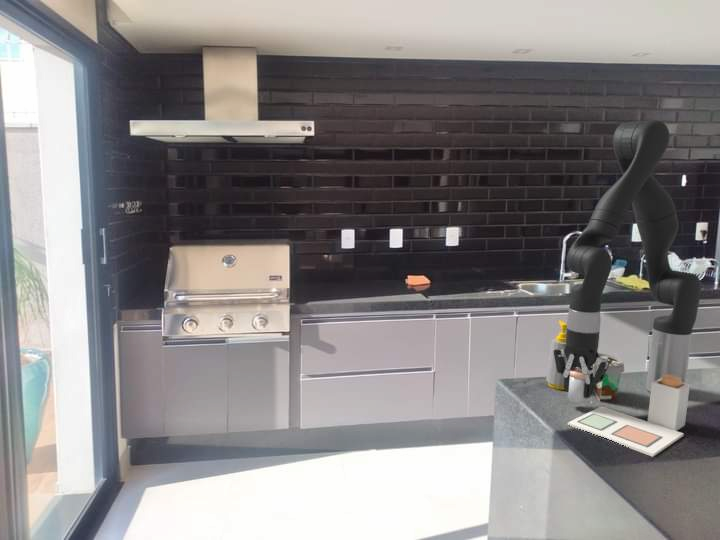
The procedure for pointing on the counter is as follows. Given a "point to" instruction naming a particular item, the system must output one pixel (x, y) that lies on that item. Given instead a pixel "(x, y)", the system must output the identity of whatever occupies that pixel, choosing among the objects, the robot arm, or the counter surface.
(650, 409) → the white open box
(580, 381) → the peach-capped grey cylinder
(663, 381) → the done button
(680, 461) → the counter surface
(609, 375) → the food container
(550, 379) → the soap bottle
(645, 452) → the picture board
